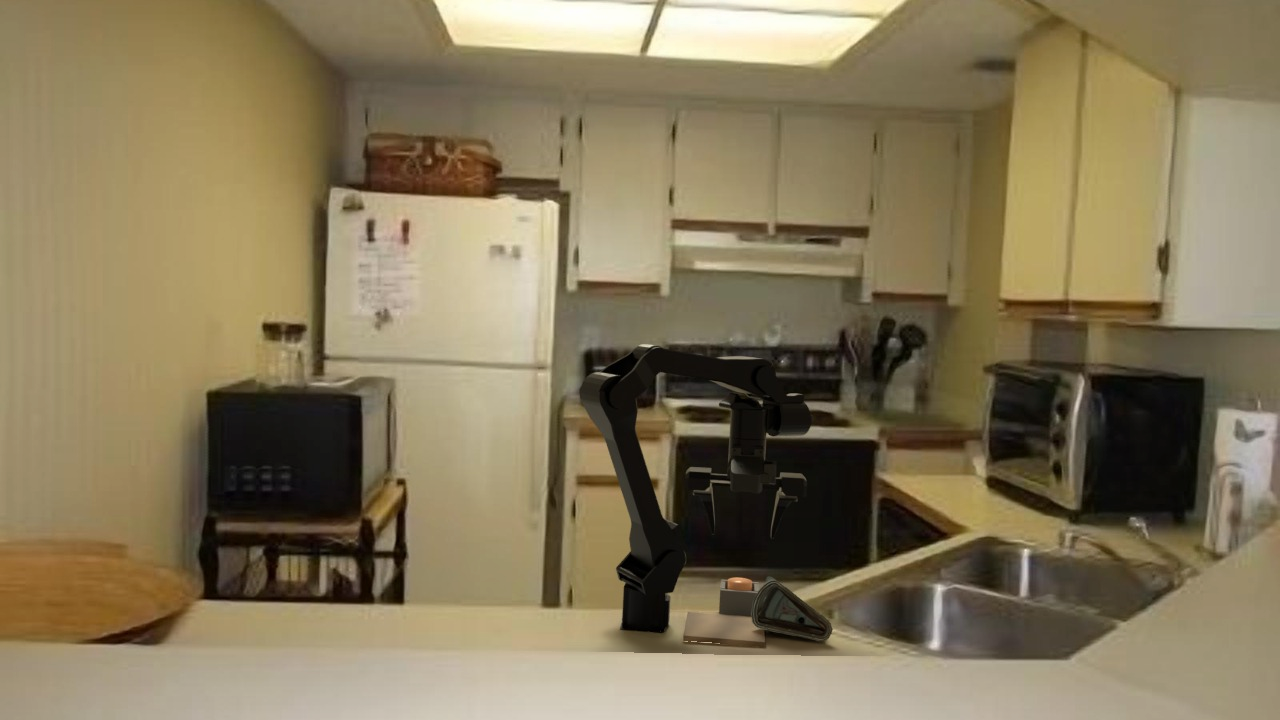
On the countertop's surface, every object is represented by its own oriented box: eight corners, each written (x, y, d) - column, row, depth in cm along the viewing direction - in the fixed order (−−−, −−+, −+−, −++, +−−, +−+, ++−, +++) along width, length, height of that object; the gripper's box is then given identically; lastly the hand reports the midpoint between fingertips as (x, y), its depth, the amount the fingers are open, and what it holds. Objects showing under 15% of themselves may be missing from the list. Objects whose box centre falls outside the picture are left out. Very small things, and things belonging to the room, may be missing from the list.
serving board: (682, 642, 138) (683, 635, 138) (687, 618, 149) (687, 611, 149) (764, 649, 137) (764, 642, 137) (763, 624, 148) (763, 617, 148)
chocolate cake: (841, 633, 145) (794, 565, 150) (837, 632, 139) (789, 561, 143) (788, 669, 146) (743, 600, 150) (782, 670, 139) (736, 597, 144)
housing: (718, 615, 151) (720, 590, 151) (719, 603, 157) (721, 579, 157) (757, 618, 150) (759, 593, 150) (757, 606, 156) (758, 582, 156)
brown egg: (726, 611, 152) (727, 583, 152) (726, 603, 156) (728, 576, 155) (750, 613, 152) (752, 585, 151) (750, 605, 155) (752, 578, 155)
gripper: (685, 440, 145) (680, 544, 146) (812, 448, 143) (806, 553, 144) (688, 431, 156) (684, 527, 157) (806, 438, 154) (801, 535, 155)
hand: (742, 536), depth 153 cm, fingers open, 9 cm apart
